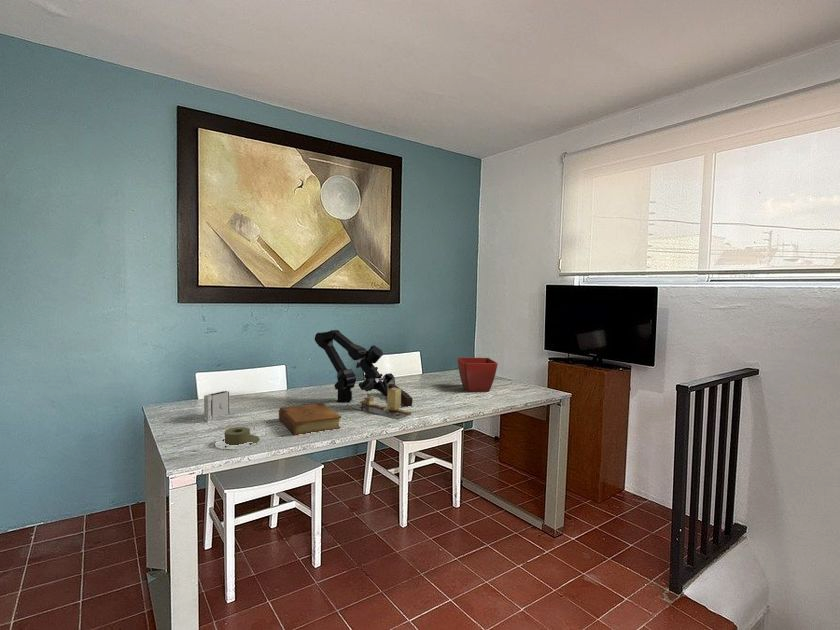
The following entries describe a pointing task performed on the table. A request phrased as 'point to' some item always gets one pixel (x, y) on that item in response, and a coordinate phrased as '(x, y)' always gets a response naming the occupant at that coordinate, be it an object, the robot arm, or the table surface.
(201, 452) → the table surface
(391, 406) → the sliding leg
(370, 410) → the bolt strip
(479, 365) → the plant pot
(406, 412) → the trammel bar
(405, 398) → the hammer
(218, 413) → the grey rectangular block
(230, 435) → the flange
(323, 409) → the diary
